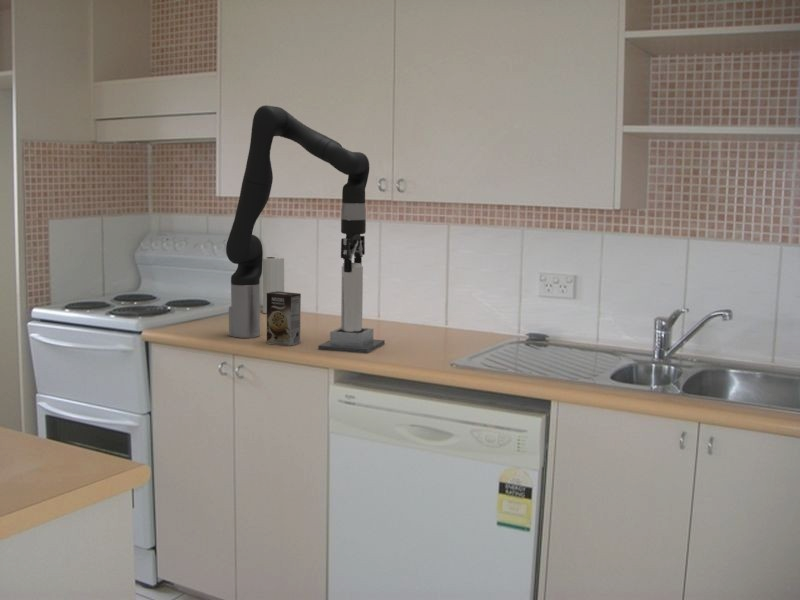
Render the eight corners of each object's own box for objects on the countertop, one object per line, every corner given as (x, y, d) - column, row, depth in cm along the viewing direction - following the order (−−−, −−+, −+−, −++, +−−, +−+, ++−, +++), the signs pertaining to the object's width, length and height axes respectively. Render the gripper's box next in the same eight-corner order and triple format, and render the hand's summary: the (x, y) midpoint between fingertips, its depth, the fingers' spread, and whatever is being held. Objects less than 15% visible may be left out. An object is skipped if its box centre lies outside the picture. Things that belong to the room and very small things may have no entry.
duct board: (318, 349, 274) (318, 332, 273) (337, 340, 289) (337, 324, 288) (367, 353, 269) (367, 336, 268) (384, 344, 284) (384, 327, 283)
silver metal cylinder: (359, 345, 275) (360, 264, 271) (338, 344, 276) (339, 263, 272) (364, 341, 281) (365, 262, 277) (344, 340, 282) (344, 261, 279)
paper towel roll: (259, 313, 342) (259, 257, 339) (271, 311, 346) (271, 256, 343) (272, 315, 337) (272, 258, 334) (284, 313, 342) (284, 257, 339)
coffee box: (265, 343, 282) (265, 292, 279) (277, 340, 287) (276, 290, 285) (290, 346, 278) (290, 295, 275) (301, 343, 283) (301, 292, 281)
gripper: (350, 216, 281) (349, 268, 283) (333, 218, 267) (332, 272, 270) (372, 217, 278) (372, 269, 281) (356, 219, 265) (356, 273, 267)
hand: (352, 270), depth 275 cm, fingers open, 8 cm apart
